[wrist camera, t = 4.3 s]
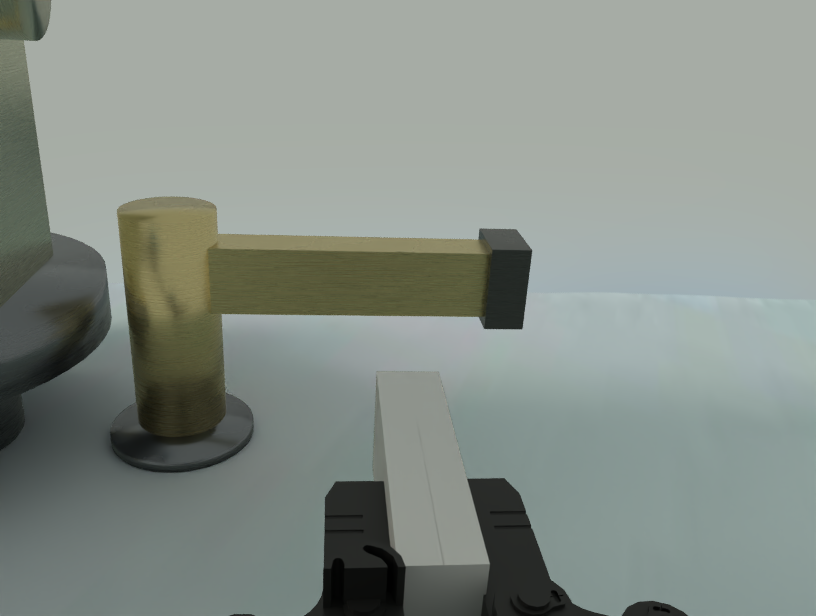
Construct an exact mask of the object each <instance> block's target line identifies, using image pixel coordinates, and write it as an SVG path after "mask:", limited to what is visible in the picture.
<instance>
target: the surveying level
mask: <svg viewBox="0 0 816 616" xmlns="http://www.w3.org/2000/svg"><path fill="white" fill-rule="evenodd" d="M50 11H51V0H0V451H1V450H2V449H3V448H5V447H6V446H7V445H9V444H10V443H11V442H12V441H13V440H14V439H15V438H16V437H17V435H18V434H19V433H20V431H21V430H22V428H23V425H24V422H25V415H24V409H23V403H22V398H21V393H24V392H26V391H28V390H30V389H33V388H35V387H37V386H39V385H41V384H43V383H46V382H48V381H50V380H52V379H53V378H55V377H57V376H59V375H60V374H62V373H64V372H66V371H67V370H69V369H71V368H72V367H74V366H75V365H76V364H78V363H79V362H81V361H82V360H84V359H85V358H86V357H87V356H88V355H89V354H91V353H92V352H93V351H94V350H95V349H96V348H97V347H98V346H99V345H100V343H101V342H102V341H103V340H104V338H105V337H106V335H107V333H108V331H109V329H110V325H111V318H112V317H111V308H110V299H109V290H108V281H107V273H106V266H105V261H104V260H103V258H102V257H101V255H100V254H99V253H98V252H97V251H95V250H94V249H93V248H92V247H90V246H88V245H86V244H84V243H83V242H80V241H78V240H75V239H72V238H70V237H66V236H62V235H59V234H55V233H50V227H49V219H48V212H47V205H46V198H45V191H44V184H43V176H42V170H41V162H40V155H39V148H38V140H37V133H36V126H35V120H34V113H33V112H34V111H33V104H32V97H31V90H30V83H29V76H28V68H27V62H26V54H25V47H24V40H29V41H38V40H40V39H41V38H42V37H43V36H44V35H45V33H46V30H47V27H48V24H49V19H50ZM225 397H226V414H225V417H224V418H223V420H222V421H221V422H220V423H219V424H218V425H216V426H215V427H213V428H211V429H209V430H207V431H205V432H202V433H199V434H195V435H190V436H183V437H166V436H159V435H155V434H152V433H150V432H148V431H146V430H145V429H143V428H142V427H141V426H140V424H139V421H138V413H137V404H136V403H134V404H132V405H130V406H129V407H127V408H126V409H125V410H123V411H122V412H121V413H120V414H119V415H118V416H117V417H116V419H115V420H114V422H113V424H112V427H111V432H110V433H111V442H112V447H113V450H114V452H115V453H116V454H117V456H118V457H119V458H121V459H122V460H123V461H125V462H126V463H128V464H130V465H133V466H135V467H138V468H141V469H145V470H151V471H159V472H181V471H189V470H195V469H200V468H204V467H208V466H211V465H214V464H217V463H219V462H221V461H224V460H226V459H228V458H230V457H231V456H233V455H235V454H236V453H237V452H239V451H240V450H241V449H242V448H243V447H244V446H245V445H246V444H247V443H248V442H249V440H250V438H251V436H252V433H253V415H252V412H251V410H250V408H249V407H248V406H247V405H246V404H245V403H244V402H243V401H241V400H240V399H238V398H236V397H234V396H232V395H229V394H227V393H225Z"/></svg>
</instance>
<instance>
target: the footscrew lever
mask: <svg viewBox="0 0 816 616" xmlns="http://www.w3.org/2000/svg"><path fill="white" fill-rule="evenodd" d="M216 211H217V209H216V206H215V205H214V204H212V203H211V202H208V201H205V200H201V199H195V198H189V197H154V198H145V199H140V200H135V201H132V202H128V203H126V204H123V205H122V206H120V207H119V208H118V209H117V217H118V226H119V236H120V246H121V256H122V266H123V275H124V285H125V295H126V305H127V315H128V325H129V335H130V345H131V354H132V364H133V374H134V384H135V394H136V404H137V413H138V421H139V424H140V426H141V427H142V428H143V429H145V430H146V431H148V432H150V433H152V434H155V435H159V436H166V437H183V436H190V435H195V434H199V433H202V432H205V431H207V430H209V429H211V428H213V427H215V426H216V425H218V424H219V423H220V422H221V421H222V420H223V418H224V417H225V414H226V397H225V376H224V355H223V334H222V314H265V315H361V316H457V317H479V318H480V321H481V323H482V325H483V327H484V329H522V328H523V320H524V312H525V304H526V296H527V287H528V280H529V272H530V264H531V256H532V249H531V248H530V247H529V246H528V245H527V243H526V242H525V240H524V239H523V238H522V236H521V235H520V234H519V232H518V231H517V230H515V229H480V230H479V240H472V239H425V238H424V239H423V238H380V237H334V236H331V237H330V236H329V237H328V236H287V235H241V234H240V235H239V234H218V230H217V212H216Z"/></svg>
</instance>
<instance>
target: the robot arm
mask: <svg viewBox="0 0 816 616" xmlns="http://www.w3.org/2000/svg"><path fill="white" fill-rule="evenodd" d="M373 477H374V481H344V482H335V483H334V485H333V487H332V488H331V490H330V491H329V493H328V494H327V496H326V497H325V538H324V569H323V592H322V596H321V598H320V600H319V602H318V604H317V605H316V606H315V607H314V608H313V609H312V610H311V611H310V612H309V613H307V614H306V615H304V616H607V615H603V614H599V613H594V612H591V611H588V610H585V609H582V608H580V607H578V606H576V605H574V604H573V603H572V602H571V600H570V598H569V597H568V595H567V594H566V592H565V591H564V590H563V589H562V588H561V587H560V586H558V585H557V584H556V583H554V582H553V581H551V579H550V577H549V574H548V571H547V568H546V566H545V563H544V560H543V557H542V555H541V552H540V549H539V546H538V543H537V541H536V538H535V535H534V532H533V530H532V529H531V524H530V521H529V519H528V516H527V514H526V510H525V507H524V505H523V502H522V499H521V496H520V494H519V493H518V492H517V491H516V490H515V489H514V488H513V487H512V486H511V485H510V484H509V483H508V482H507V481H506V480H505V479H504V478H490V479H467V476H466V473H465V469H464V465H463V461H462V458H461V454H460V450H459V446H458V443H457V439H456V435H455V431H454V427H453V424H452V420H451V416H450V412H449V409H448V405H447V401H446V397H445V394H444V390H443V386H442V382H441V379H440V375H439V372H399V371H377V376H376V399H375V423H374V447H373ZM230 616H254V615H251V614H234V615H230ZM622 616H688V615H686V614H685V613H684V612H682V611H680V610H678V609H676V608H674V607H672V606H671V605H668V604H664V603H660V602H655V601H644V602H637V603H635V604H633V605H631V606H629V607H627V609H626V610H625V612H624V613H623V615H622Z"/></svg>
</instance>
